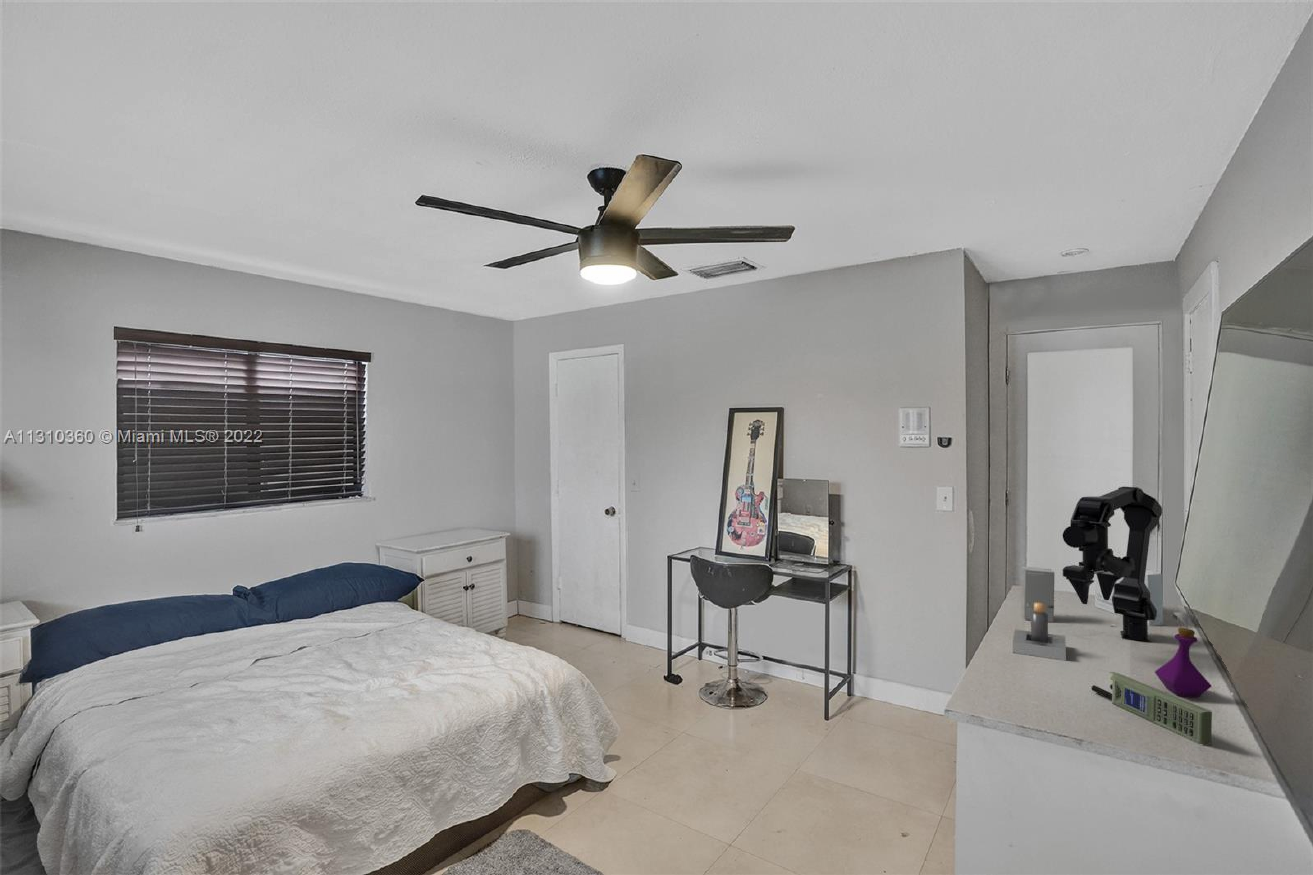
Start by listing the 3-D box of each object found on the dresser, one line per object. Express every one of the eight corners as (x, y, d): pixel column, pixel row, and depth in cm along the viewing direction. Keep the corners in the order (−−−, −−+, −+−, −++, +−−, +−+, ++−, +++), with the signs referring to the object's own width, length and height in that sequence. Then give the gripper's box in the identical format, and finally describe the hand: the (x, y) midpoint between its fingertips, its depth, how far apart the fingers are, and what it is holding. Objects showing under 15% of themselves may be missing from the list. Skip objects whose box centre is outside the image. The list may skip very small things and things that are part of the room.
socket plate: (1015, 640, 182) (1015, 629, 182) (1065, 647, 175) (1065, 636, 175) (1012, 652, 172) (1012, 641, 172) (1065, 660, 165) (1065, 648, 165)
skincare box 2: (1093, 607, 214) (1092, 559, 214) (1108, 606, 214) (1107, 559, 214) (1148, 626, 193) (1147, 573, 193) (1164, 625, 194) (1164, 573, 193)
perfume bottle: (1212, 701, 140) (1211, 618, 140) (1173, 698, 141) (1172, 617, 141) (1191, 687, 147) (1190, 609, 147) (1154, 685, 149) (1153, 608, 149)
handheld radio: (1200, 747, 120) (1086, 694, 145) (1214, 746, 121) (1099, 693, 145) (1201, 711, 120) (1087, 664, 145) (1215, 710, 121) (1099, 664, 145)
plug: (1031, 646, 176) (1030, 601, 176) (1048, 648, 174) (1047, 603, 174) (1030, 650, 173) (1030, 604, 173) (1048, 653, 171) (1047, 606, 171)
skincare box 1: (1024, 620, 200) (1023, 569, 200) (1020, 614, 207) (1020, 565, 207) (1055, 623, 197) (1055, 571, 197) (1051, 616, 204) (1050, 567, 204)
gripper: (1104, 552, 161) (1105, 614, 161) (1149, 546, 169) (1149, 605, 169) (1061, 545, 171) (1061, 603, 171) (1104, 539, 179) (1105, 595, 179)
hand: (1095, 602), depth 172 cm, fingers open, 9 cm apart
